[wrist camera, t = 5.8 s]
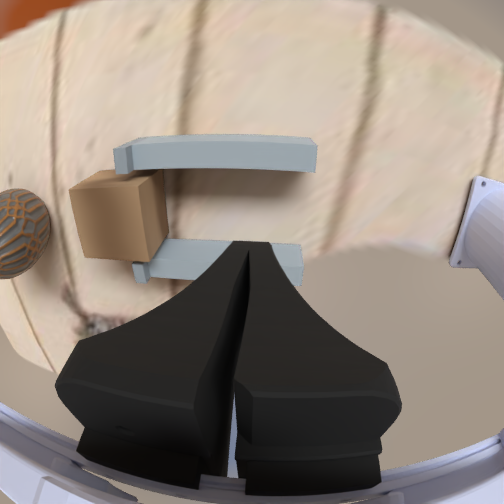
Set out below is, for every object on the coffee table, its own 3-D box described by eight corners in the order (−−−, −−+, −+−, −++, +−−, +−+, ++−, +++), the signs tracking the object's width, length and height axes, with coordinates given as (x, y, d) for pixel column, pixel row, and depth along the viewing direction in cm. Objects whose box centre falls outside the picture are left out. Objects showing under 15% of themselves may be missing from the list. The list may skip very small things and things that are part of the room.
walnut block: (162, 167, 18) (138, 186, 14) (168, 232, 20) (149, 262, 17) (100, 170, 18) (68, 189, 15) (110, 230, 21) (84, 257, 17)
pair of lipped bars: (310, 138, 17) (319, 148, 13) (298, 262, 21) (302, 293, 18) (139, 137, 17) (112, 149, 14) (153, 255, 22) (136, 282, 18)
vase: (60, 185, 19) (-15, 238, 11) (63, 255, 22) (9, 318, 15) (9, 173, 18) (-59, 215, 11) (15, 237, 22) (-38, 287, 14)
